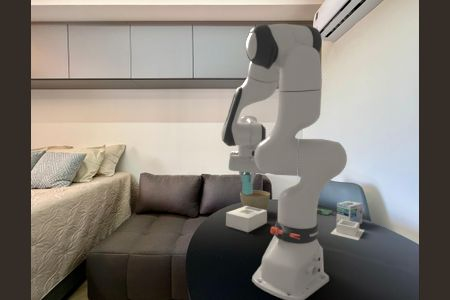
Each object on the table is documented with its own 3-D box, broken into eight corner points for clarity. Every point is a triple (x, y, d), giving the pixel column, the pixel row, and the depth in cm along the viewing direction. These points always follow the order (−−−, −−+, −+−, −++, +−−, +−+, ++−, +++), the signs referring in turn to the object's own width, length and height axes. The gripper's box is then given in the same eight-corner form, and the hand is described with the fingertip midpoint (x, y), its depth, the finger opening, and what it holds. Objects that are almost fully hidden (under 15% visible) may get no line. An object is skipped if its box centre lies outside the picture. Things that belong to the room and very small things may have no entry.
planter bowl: (249, 207, 138) (249, 189, 137) (274, 212, 128) (274, 192, 128) (234, 213, 125) (234, 193, 124) (261, 219, 115) (261, 197, 115)
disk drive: (299, 214, 127) (328, 220, 118) (299, 209, 127) (328, 214, 118) (305, 210, 135) (332, 215, 126) (305, 205, 135) (332, 210, 126)
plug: (247, 194, 106) (248, 169, 105) (242, 193, 108) (242, 169, 107) (252, 193, 109) (252, 168, 108) (247, 192, 111) (247, 168, 110)
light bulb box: (350, 230, 102) (350, 206, 102) (335, 225, 108) (336, 202, 107) (362, 226, 108) (363, 203, 108) (348, 222, 114) (349, 200, 113)
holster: (358, 244, 88) (358, 231, 88) (330, 237, 94) (330, 224, 94) (364, 233, 99) (364, 221, 99) (338, 227, 105) (339, 216, 105)
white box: (247, 232, 98) (248, 217, 98) (226, 225, 106) (226, 212, 106) (266, 222, 110) (266, 209, 110) (245, 217, 118) (246, 205, 118)
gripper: (226, 151, 111) (225, 180, 112) (263, 153, 98) (262, 185, 99) (233, 151, 116) (233, 178, 117) (270, 152, 103) (270, 183, 104)
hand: (247, 181), depth 108 cm, fingers closed on plug, 3 cm apart
